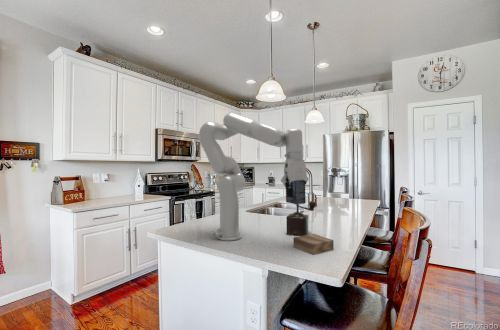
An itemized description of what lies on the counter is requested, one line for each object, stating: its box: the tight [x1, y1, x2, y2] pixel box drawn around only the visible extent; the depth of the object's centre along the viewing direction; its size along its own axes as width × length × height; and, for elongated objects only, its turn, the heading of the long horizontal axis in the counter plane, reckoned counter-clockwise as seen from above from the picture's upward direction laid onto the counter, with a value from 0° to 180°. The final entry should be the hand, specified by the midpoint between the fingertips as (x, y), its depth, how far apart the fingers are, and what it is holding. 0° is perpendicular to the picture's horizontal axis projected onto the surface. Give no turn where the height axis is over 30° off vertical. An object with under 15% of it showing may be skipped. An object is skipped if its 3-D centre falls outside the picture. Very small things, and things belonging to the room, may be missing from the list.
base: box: [293, 233, 335, 256], centre depth 110 cm, size 12×12×4 cm
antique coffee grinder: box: [285, 200, 317, 237], centre depth 133 cm, size 16×11×18 cm
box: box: [285, 180, 307, 205], centre depth 114 cm, size 8×6×11 cm
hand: (295, 196), depth 114 cm, fingers closed on box, 6 cm apart
